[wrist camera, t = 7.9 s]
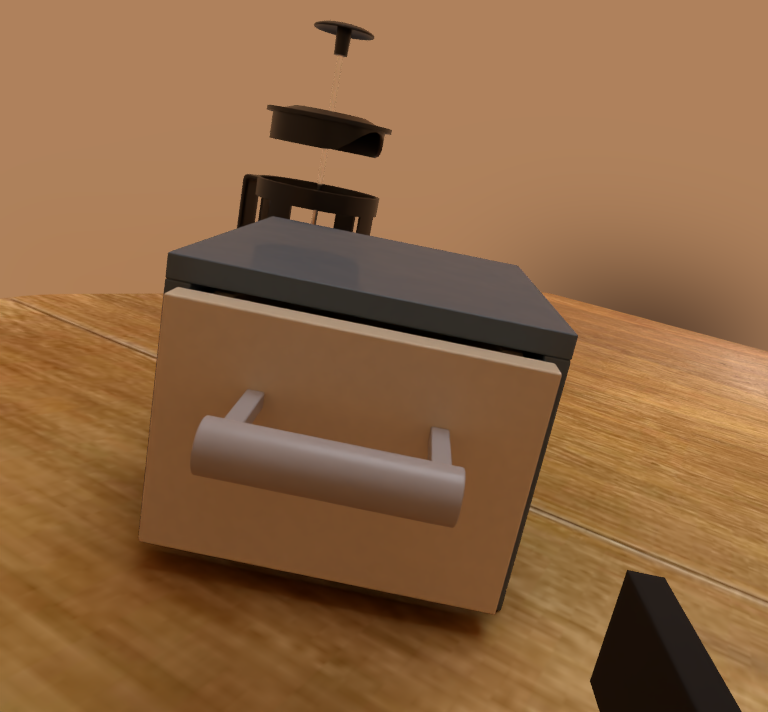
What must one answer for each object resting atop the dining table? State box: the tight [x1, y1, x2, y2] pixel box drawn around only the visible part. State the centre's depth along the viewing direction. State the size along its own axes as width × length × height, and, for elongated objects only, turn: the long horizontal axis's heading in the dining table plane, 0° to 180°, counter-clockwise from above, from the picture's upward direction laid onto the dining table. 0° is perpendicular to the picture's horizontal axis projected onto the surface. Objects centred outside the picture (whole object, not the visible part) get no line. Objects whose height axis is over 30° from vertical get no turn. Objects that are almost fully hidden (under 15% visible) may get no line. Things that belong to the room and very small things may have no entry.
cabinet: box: [139, 216, 578, 611], centre depth 32 cm, size 16×14×11 cm
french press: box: [237, 21, 392, 236], centre depth 51 cm, size 12×9×23 cm
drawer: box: [139, 287, 562, 614], centre depth 27 cm, size 19×13×9 cm, turn 179°
